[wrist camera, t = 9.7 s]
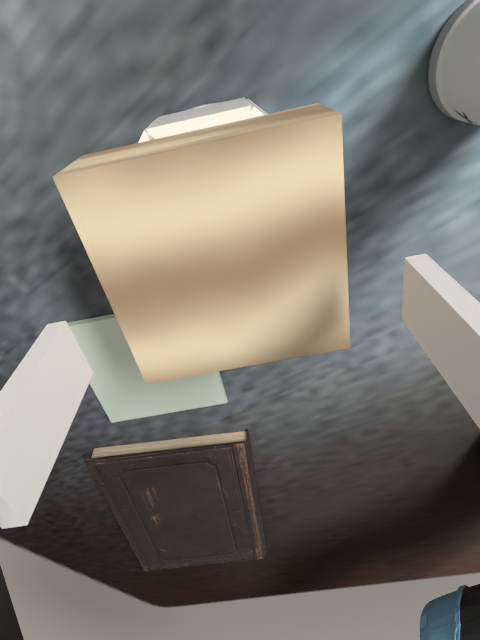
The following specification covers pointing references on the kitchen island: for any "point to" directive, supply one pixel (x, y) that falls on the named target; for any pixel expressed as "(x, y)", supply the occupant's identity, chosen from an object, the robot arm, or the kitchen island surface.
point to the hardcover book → (184, 499)
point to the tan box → (220, 241)
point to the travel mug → (458, 65)
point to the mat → (136, 376)
